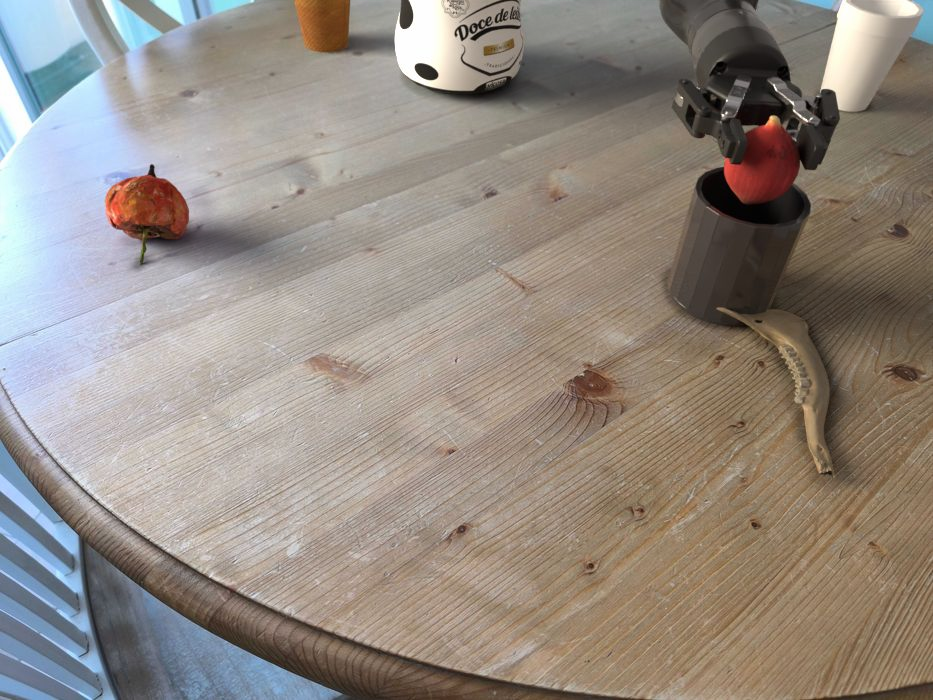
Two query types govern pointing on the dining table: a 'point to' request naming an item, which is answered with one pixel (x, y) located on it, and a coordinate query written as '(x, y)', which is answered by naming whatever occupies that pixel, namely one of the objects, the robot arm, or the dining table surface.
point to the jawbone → (799, 373)
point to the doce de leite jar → (460, 43)
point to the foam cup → (867, 47)
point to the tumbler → (734, 250)
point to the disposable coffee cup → (324, 24)
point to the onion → (764, 164)
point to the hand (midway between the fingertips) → (777, 156)
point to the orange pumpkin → (147, 208)
